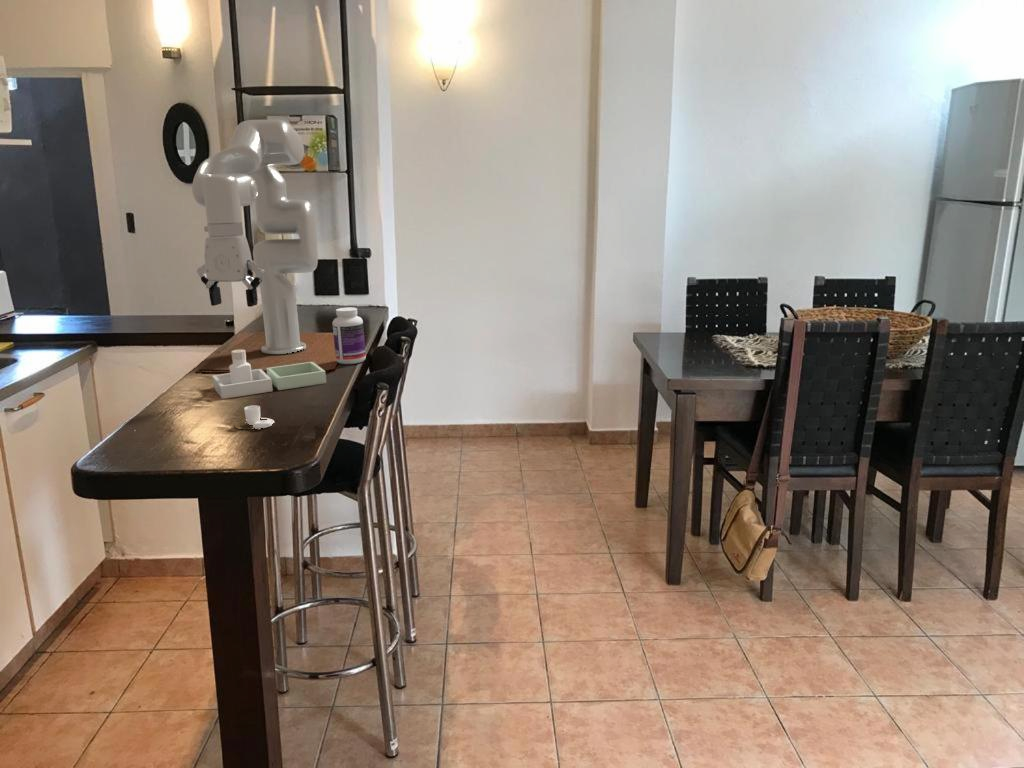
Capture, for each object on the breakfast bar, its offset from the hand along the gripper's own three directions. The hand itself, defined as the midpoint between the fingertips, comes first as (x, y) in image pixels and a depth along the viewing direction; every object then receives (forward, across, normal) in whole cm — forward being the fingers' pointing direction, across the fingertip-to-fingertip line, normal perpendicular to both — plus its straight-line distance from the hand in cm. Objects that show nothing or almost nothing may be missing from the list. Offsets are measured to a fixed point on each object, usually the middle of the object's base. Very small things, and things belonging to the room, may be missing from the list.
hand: (234, 305), depth 189 cm
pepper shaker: (+21, 0, 0) cm, 21 cm away
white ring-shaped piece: (+21, +18, -26) cm, 38 cm away
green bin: (+20, +9, +9) cm, 24 cm away
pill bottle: (+21, +13, +30) cm, 39 cm away
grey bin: (+20, 0, 0) cm, 21 cm away
